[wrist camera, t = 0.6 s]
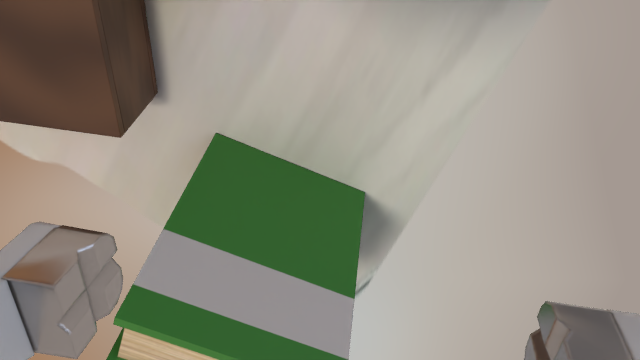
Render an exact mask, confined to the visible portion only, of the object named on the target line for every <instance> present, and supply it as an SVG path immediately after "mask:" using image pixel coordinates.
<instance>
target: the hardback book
mask: <svg viewBox="0 0 640 360" xmlns="http://www.w3.org/2000/svg"><path fill="white" fill-rule="evenodd" d="M364 197H365V192H363V191H360V190H358V189H355V188H353V187H350V186H348V185H345V184H343V183H340V182H338V181H335V180H333V179H330V178H328V177H325V176H323V175H320V174H318V173H315V172H313V171H310V170H308V169H305V168H303V167H300V166H298V165H295V164H293V163H290V162H288V161H285V160H283V159H280V158H278V157H275V156H273V155H270V154H268V153H265V152H263V151H260V150H258V149H255V148H253V147H250V146H248V145H245V144H243V143H240V142H238V141H235V140H233V139H230V138H228V137H225V136H223V135H220V134H218V133H216V134H215V136H214V137H213V139H212V141H211V143H210V145H209V147H208V148H207V150H206V152H205V154H204V156H203V158H202V159H201V161H200V163H199V165H198V167H197V168H196V170H195V172H194V174H193V176H192V178H191V179H190V181H189V183H188V185H187V187H186V189H185V190H184V192H183V194H182V196H181V198H180V199H179V201H178V203H177V205H176V207H175V209H174V210H173V212H172V214H171V216H170V218H169V220H168V221H167V223H166V225H165V227H164V229H163V231H162V232H161V234H160V236H159V238H158V240H157V241H156V243H155V245H154V247H153V249H152V251H151V252H150V254H149V256H148V258H147V260H146V262H145V263H144V265H143V267H142V269H141V271H140V273H139V274H138V276H137V278H136V280H135V281H134V283H133V285H132V287H131V289H130V291H129V293H128V295H127V296H126V298H125V300H124V302H123V303H122V305H121V307H120V309H119V311H118V312H117V314H116V316H115V319H114V325H117V326H120V327H123V329H122V331H121V333H120V334H119V337H118V338H117V340H116V342H115V344H114V346H113V348H112V350H111V352H110V353H109V356H108V357H107V359H106V360H348V358H349V349H350V339H351V328H352V318H353V308H354V298H355V288H356V278H357V268H358V258H359V248H360V238H361V228H362V218H363V207H364Z"/></svg>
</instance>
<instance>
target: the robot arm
mask: <svg viewBox="0 0 640 360" xmlns="http://www.w3.org/2000/svg"><path fill="white" fill-rule="evenodd" d="M116 251H117V247H116V243H115V239H114V237H113V236H111V235H110V234H107V233H102V232H97V231H91V230H85V229H80V228H74V227H69V226H64V225H62V226H60V225H55V224H50V223H44V222H36V223H32V224H30V225H29V226H28V227H26V228H25V229H24V230H23V231H22V232H21V233H20V234H19V235H17V236H16V237H15V238H14V239H13V240H12V241H10V242H9V243H8V244H7V245H6V246H5V247H4V248H2V249H1V250H0V360H27V359H29V358H30V357H32V356H34V352H35V353H41V354H48V355H54V356H60V357H67V358H73V359H78V357H79V356H80V354H81V353H82V352H83V350H84V349H85V348H86V346H87V345H88V343H89V342H90V341H91V339H92V338H93V336H94V335H95V333H96V332H97V328H96V321H98V320H99V319H101V318H103V317H105V316H107V315H109V314H110V312H111V311H112V310H113V308H114V307H115V305H116V304H117V302H118V299H119V296H120V294H121V290H122V284H123V275H122V270H121V267H120V266H119V265H118V264H117V263H116V262H115V260H114V259H113V258H112V257H113V255H114V254H115V253H116ZM537 318H538V322H539V326H540V329H538V330H536V331H535V332H533V333H531V334H530V336H529V339H528V342H527V345H526V349H525V358H524V360H640V315H639V314H636V313H629V312H621V311H614V310H603V309H597V308H590V307H583V306H576V305H569V304H562V303H556V302H549V301H546V302H545V303H544V304H543V305H542V306H541V308H540V311H539V314H538V316H537Z"/></svg>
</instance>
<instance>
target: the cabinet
mask: <svg viewBox="0 0 640 360" xmlns="http://www.w3.org/2000/svg"><path fill="white" fill-rule="evenodd" d="M157 93H158V91H157V84H156V78H155V71H154V64H153V57H152V51H151V44H150V37H149V30H148V23H147V17H146V10H145V3H144V0H0V121H4V122H11V123H18V124H26V125H33V126H40V127H47V128H55V129H62V130H69V131H76V132H83V133H91V134H98V135H105V136H112V137H120V138H121V137H122V136H123V135H124V133H125V132H126V131H127V130H128V128H129V127H130V126H131V125H132V124H133V122H134V121H135V120H136V119H137V117H138V116H139V115H140V114H141V113H142V111H143V110H144V109H145V108H146V106H147V105H148V104H149V103H150V101H151V100H152V99H153V98H154V97H155V95H156V94H157Z"/></svg>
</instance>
